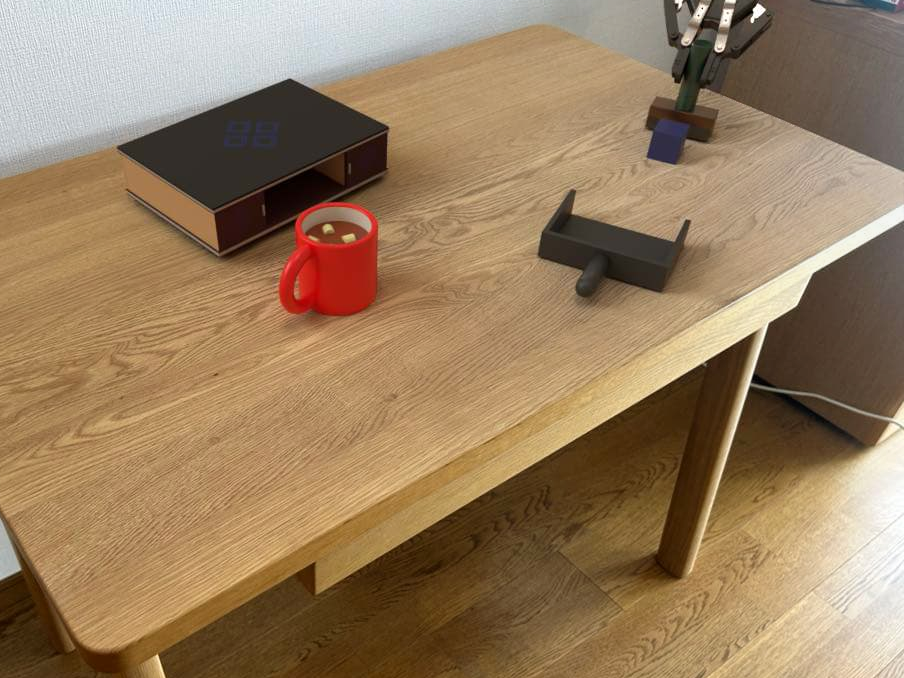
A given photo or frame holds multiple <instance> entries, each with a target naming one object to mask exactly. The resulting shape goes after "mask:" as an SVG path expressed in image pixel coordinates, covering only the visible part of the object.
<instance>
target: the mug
mask: <svg viewBox="0 0 904 678" xmlns="http://www.w3.org/2000/svg"><path fill="white" fill-rule="evenodd" d="M294 229H295V230H294V232H295V234H294V235H295V251H294V252H293V253H292V254H291V255H290V256H289V258H288V259H287V261H286V262H285V264H284V267H283V268H282V272H281V274H280V277H279V281H278V299H279V302H280V305H281V307H282V308H283V309H284V310H285V311H286V312H287V313H289V314H292V315H302V314H304V313H306V312H308V311H310V310H311V311H314V312H316V313H319V314H321V315H322V314H323V315H326V316H349V315H352V314H356V313H359V312H361V311H363V310H365V309H367V308H368V307H370V306H371V304H372V303H373V302H374V301H375V299H376V297H377V292H378V253H379V251H378V250H379V248H378V247H379V223H378V220H377V218H376V216H375V215H374V214H373V213H372V212H371V211H369V210H368V209H366V208H365V207H362V206H360V205H357V204H354V203H350V202H349V203H348V202H340V201H339V202H337V201H335V202H329V203H324V204H320V205H316V206H314V207H311V208H309V209H307V210H306V211H304V212H303V213H302V214H301V215H300V216H299V217H298V218H297V219H296V220H295V224H294ZM296 282H297V284H298V285H297V286H298V296H299V298H296V297H295V286H296Z"/></svg>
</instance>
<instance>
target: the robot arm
mask: <svg viewBox="0 0 904 678" xmlns="http://www.w3.org/2000/svg"><path fill="white" fill-rule="evenodd" d="M662 1H663V3H662V4H663V14H664V15H663V16H664V20H665V21H664V22H665V29H666V35H667V44H668V46H669V47H671V48H675V49H676V50H677V53H676V56H675V58H674V60H673V63H672V66H671V78H673V83H674V84H676V85H677V84H678V85H681V82H682V78H683V75H684V72H685V68H686V64H687V60H688V57H689V53H690V49H691V45H692V42H693V41H694V40H698V39H699V38H700V36H701V34H702V33H703V30H713V31H715V32H717V33H716V39H715V43H714V45H713V46H714V47H713V48H712V51H711V52H710V54H709V57H708V60H707V62H706V65H705V68H704V70H703V73H702V76H701V78H700V82H699V88H700V90H705V89H706V87H707V86H712V84H713V83H714V81H715V79H716V76H717V74H718V71H719V69H720V65H721V63H722V61H724V60H725V59H732V60H737V59H739V58H740V57H741V56H742V55H743V54H744V53H746V52H747V50H748V49H749V48H751V47H752V46H753V44H755V42H756V41H757V40H758V39H760V38H761V37H762V36H763V35H764V34H765V33H766V32H767V31H768V30H769V29H770V28H771V27H772V25H773V21H774V16H775V10H773V9H772V8H764V7H763V6H762V5H761V4H759V0H662ZM685 3H686V5H687V8H688V11H689V14H690V17H691V18H690V20H689V23H688V25H687V27H686V31H685V32H684V34H683V33H681V32H680V29H679V22H678V15H677V14H679V13H681V11H682V9H683V8H682V7H683V4H685ZM751 15H752V16H751ZM749 16H751V18H750V22H749V26H748V27H747V28H746V29H745V30H743V32H742V33H740V34H739V36H737V38H736V39H734V40H733V41H732V42H729V37H730V33H731V30H732V29H733V28H734V27H736V26H738V25H739V24H740V23H741V22H742V21H744V20H745V19H747V18H748V17H749Z"/></svg>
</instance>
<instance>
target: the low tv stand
mask: <svg viewBox="0 0 904 678" xmlns="http://www.w3.org/2000/svg"><path fill="white" fill-rule="evenodd" d="M390 129H391V128H390V126H389V125H387V124H385V123H383V122H381V121H378V120H377V119H374V118H372V117H370V116H368V115H366V114H364V113H362V112H360V111H359V110H356V109H354V108H352V107H350V106H348V105H346V104H344V103H342V102H340V101H337V100H335V99H334V98H332V97H329V96H327V95H325V94H323V93H321V92H320V91H317V90H315V89H313V88H311V87H309V86H307V85H305V84H303V83H301V82H299V81H297V80H296V79H295V80H294V79H293V78H291V77H290V78H289V77H288V78H287V79H284V80H282V81H279V82H276V83H274V84H271V85H269V86H266V87H264V88H261V89H259V90H256V91H254V92H251V93H249V94H246V95H243V96H241V97H238V98H236V99H234V100H233V99H232V100H230V101H229V102H226V103H223V104H221V105H217V106H215V107H213V108H211V109H207V110H205V111H203V112H201V113H197V114H195V115H193V116H191V117H188V118H185V119H183V120H180V121H178V122H175V123H173V124H170V125H167V126H165V127H162V128H160V129H157V130H154V131H152V132H150V133H146V134H144V135H142V136H139V137H137V138H134V139H132V140H130V141H126V142H124V143H121V144H119V145H117V146H116V150H117V153H118V154H119V157H120V161H121V167H122V171H123V177H124V181H125V186H126V188H125V189H124V190H125V195H128V196H129V197H130V198H132V199H133V200H135V201H136V202H138V203H139V204H140V205H142V206H144V207H145V208H146V209H148V210H149V211H150V212H152V213H154V214H155V215H156V216H158V217H159V218H161V219H163V220H164V221H165V222H166V223H168V224H170V225H171V226H173V227H174V228H176V230H178V231H180V232H181V233H183V234H184V235H186V236H187V237H188V238H190V239H191V240H193V241H195V242H196V243H197V244H199V245H200V246H201V247H203V248H205V249H206V250H208V252H210V253H212V254H213V255H215V256H216V257H218V258H221V257H224V256H225V255H228V254H229V253H231V252H234V251H235V250H238V249H239V248H241V247H244V246H245V245H248V244H249V243H251V242H253V241H256V240H257V239H259V238H261V237H263V236H265V235H267V234H269V233H271V232H273V231H276V230H278V229H279V228H281V227H283V226H285V225H287V224H289V223H291V222H293V221H296V220H297V218H298V217H299V216H300V215H301V214H302V213H303V212H304V211H306V210H307V209H309V208H311V207H314V206H316V205H320V204H324V203H332V202H333V201H335V200H337V199H339V198H341V197H344V196H345V195H347V194H349V193H351V192H353V191H355V190H357V189H360V188H361V187H363V186H365V185H367V184H369V183H371V182H373V181H375V180H377V179H379V178H380V177H381V178H382V177H383V176H385V175H387V174H389V167H388V140H389V139H388V138H389V133H390Z"/></svg>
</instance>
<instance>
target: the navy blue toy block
mask: <svg viewBox="0 0 904 678" xmlns="http://www.w3.org/2000/svg"><path fill="white" fill-rule="evenodd" d="M689 127H690V125H688V124H684V123H679V122H675V121H671V120H666V119H662V118H661V119H660V121H659V122H658V124H657V125H656V127H655V129H652V134H651V137H650V142H649V145H648V148H647V149H648V150H647V152H646V158H647V159H651V160H655V161H659V162H663V163H667V164H671V165H676V164H677V162H678V160H679V159H680V157H681V155H682V153H683V151H684V147H685V144H686V141H687V138H688V137H687V134H688V131H689Z"/></svg>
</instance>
